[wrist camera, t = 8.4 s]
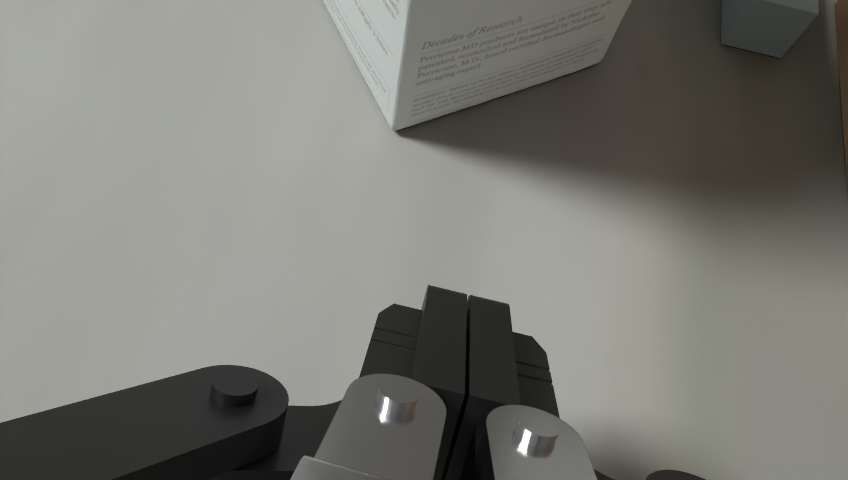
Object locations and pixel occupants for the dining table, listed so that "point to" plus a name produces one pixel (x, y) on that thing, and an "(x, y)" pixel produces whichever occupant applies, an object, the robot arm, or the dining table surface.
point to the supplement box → (468, 48)
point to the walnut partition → (843, 66)
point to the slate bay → (766, 24)
